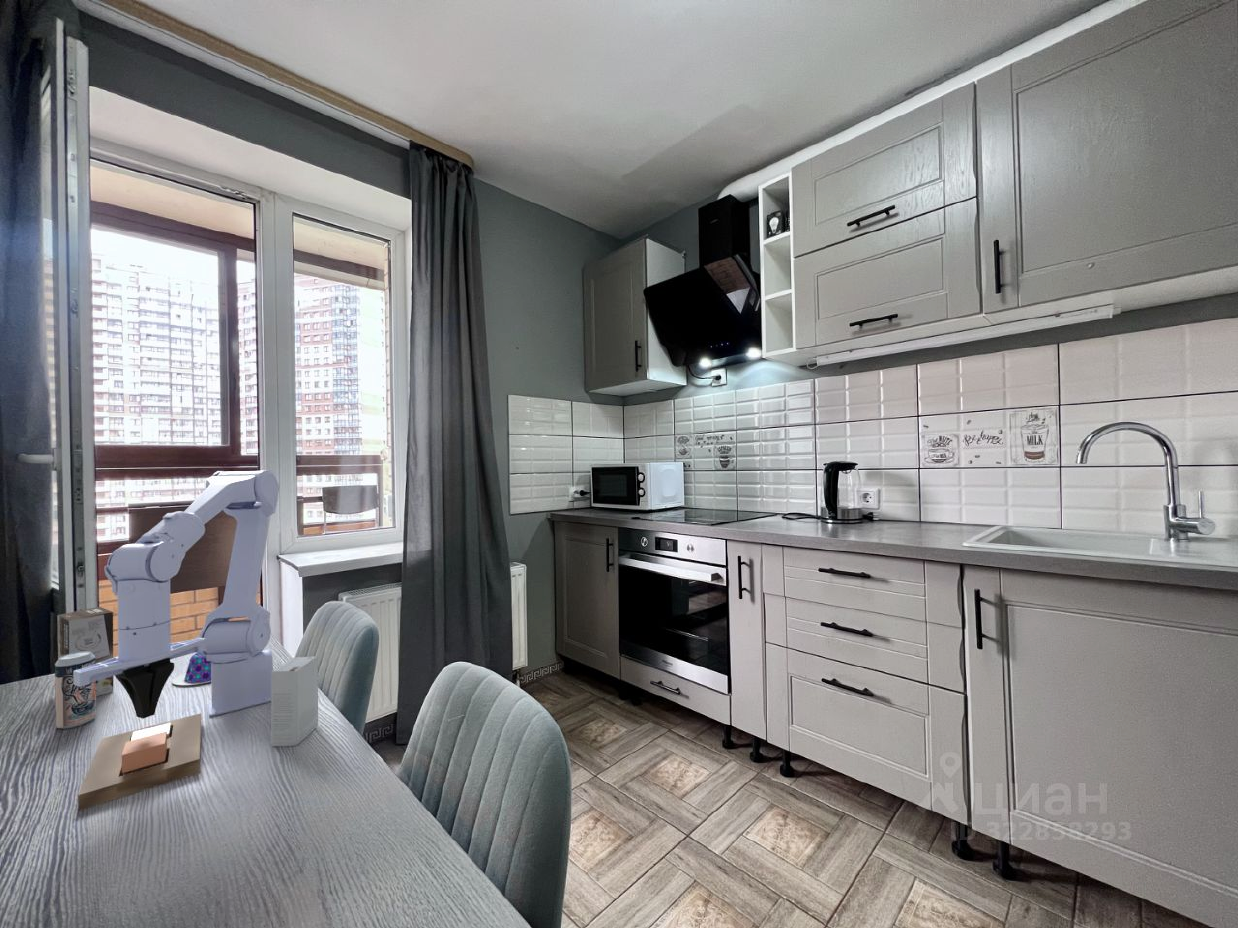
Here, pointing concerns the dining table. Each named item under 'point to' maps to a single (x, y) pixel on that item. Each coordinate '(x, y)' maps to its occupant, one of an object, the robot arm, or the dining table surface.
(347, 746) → the dining table surface
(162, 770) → the button board
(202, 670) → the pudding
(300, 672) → the skincare box
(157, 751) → the terracotta button
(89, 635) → the coffee box
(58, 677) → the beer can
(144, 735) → the metal button
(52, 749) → the dining table surface
